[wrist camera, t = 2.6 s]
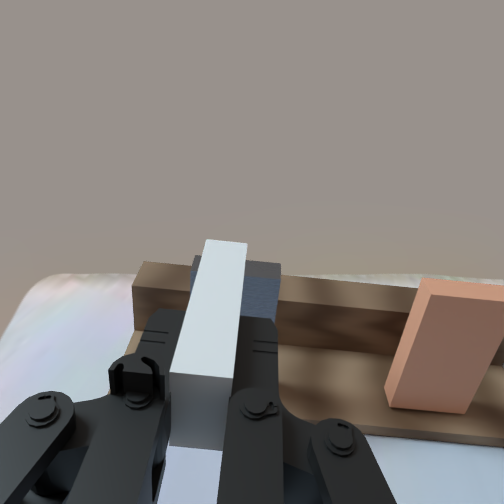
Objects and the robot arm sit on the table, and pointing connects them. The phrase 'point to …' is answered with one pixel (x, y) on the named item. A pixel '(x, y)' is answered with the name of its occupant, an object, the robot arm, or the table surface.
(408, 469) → the table surface
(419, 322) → the terracotta key
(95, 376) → the table surface
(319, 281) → the brown piece
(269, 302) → the grey rectangular slab
